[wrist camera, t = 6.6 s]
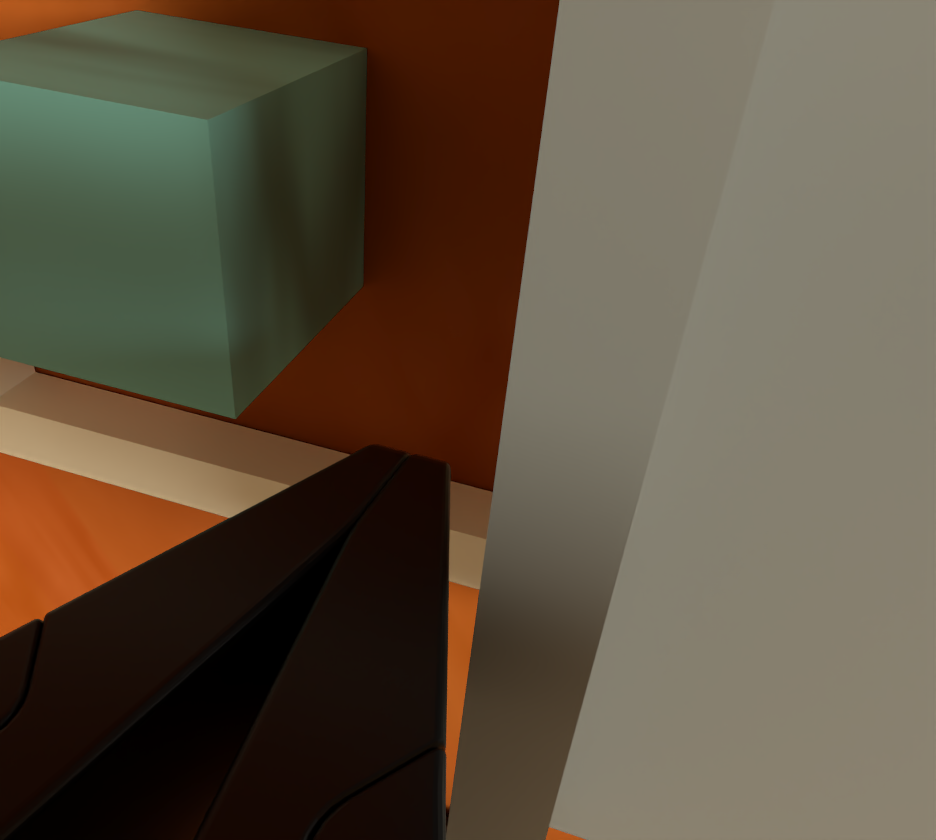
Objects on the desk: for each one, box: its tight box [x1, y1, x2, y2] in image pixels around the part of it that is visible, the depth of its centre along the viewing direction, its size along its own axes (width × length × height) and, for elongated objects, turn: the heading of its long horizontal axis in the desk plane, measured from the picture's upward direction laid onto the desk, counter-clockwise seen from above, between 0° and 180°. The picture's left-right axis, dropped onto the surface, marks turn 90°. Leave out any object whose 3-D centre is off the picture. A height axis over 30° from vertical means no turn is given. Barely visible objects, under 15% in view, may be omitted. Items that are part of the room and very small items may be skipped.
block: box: [0, 10, 367, 419], centre depth 13 cm, size 4×4×5 cm
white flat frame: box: [0, 357, 493, 590], centre depth 13 cm, size 16×30×2 cm, turn 85°
